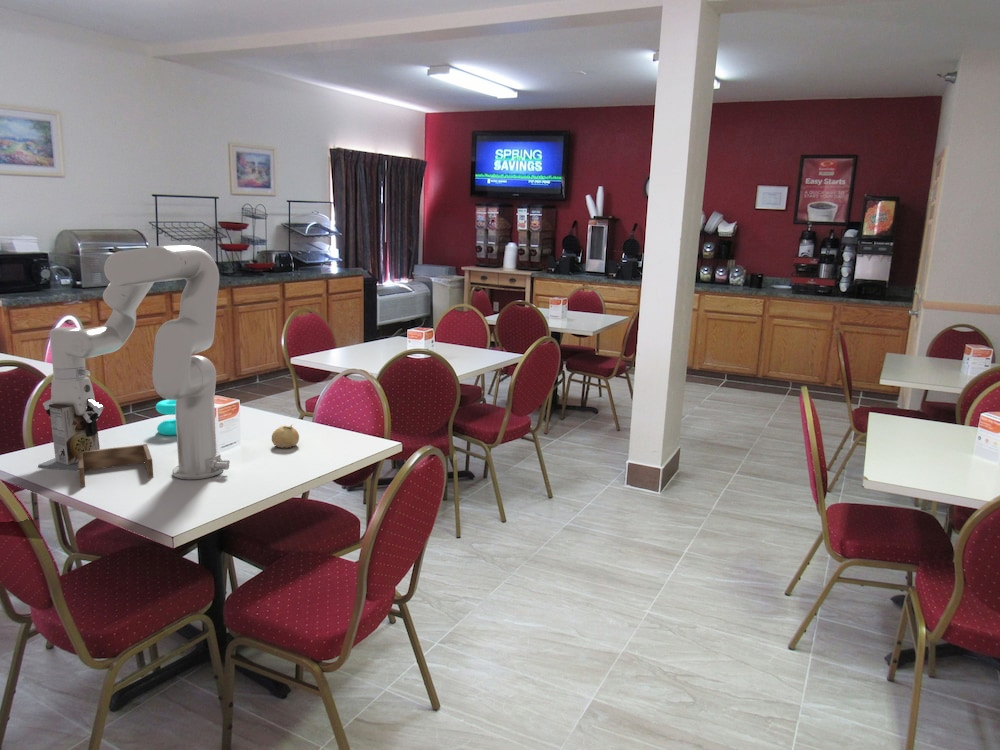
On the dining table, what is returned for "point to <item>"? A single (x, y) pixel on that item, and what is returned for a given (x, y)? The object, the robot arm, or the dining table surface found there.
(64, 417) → the coffee box
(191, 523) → the dining table surface
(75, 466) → the charcoal mat
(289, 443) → the onion
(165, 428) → the donuts
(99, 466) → the walnut cubby
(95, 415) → the robot arm
